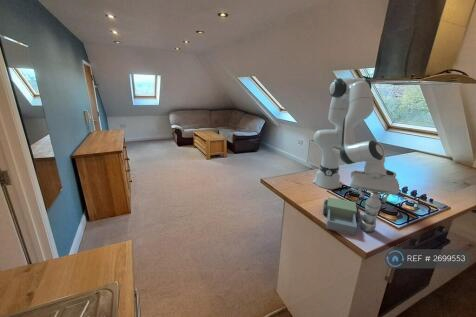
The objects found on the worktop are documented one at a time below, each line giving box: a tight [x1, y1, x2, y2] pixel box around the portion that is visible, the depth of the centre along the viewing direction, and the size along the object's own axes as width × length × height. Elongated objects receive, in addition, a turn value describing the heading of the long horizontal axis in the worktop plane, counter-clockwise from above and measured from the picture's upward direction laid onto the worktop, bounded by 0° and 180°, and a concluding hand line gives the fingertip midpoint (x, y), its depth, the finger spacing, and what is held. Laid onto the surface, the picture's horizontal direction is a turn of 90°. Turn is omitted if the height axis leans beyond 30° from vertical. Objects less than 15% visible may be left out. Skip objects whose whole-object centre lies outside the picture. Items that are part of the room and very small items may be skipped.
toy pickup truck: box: [322, 197, 361, 236], centre depth 115 cm, size 23×17×6 cm
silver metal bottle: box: [360, 191, 382, 233], centre depth 105 cm, size 6×7×20 cm
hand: (373, 199), depth 106 cm, fingers open, 8 cm apart
